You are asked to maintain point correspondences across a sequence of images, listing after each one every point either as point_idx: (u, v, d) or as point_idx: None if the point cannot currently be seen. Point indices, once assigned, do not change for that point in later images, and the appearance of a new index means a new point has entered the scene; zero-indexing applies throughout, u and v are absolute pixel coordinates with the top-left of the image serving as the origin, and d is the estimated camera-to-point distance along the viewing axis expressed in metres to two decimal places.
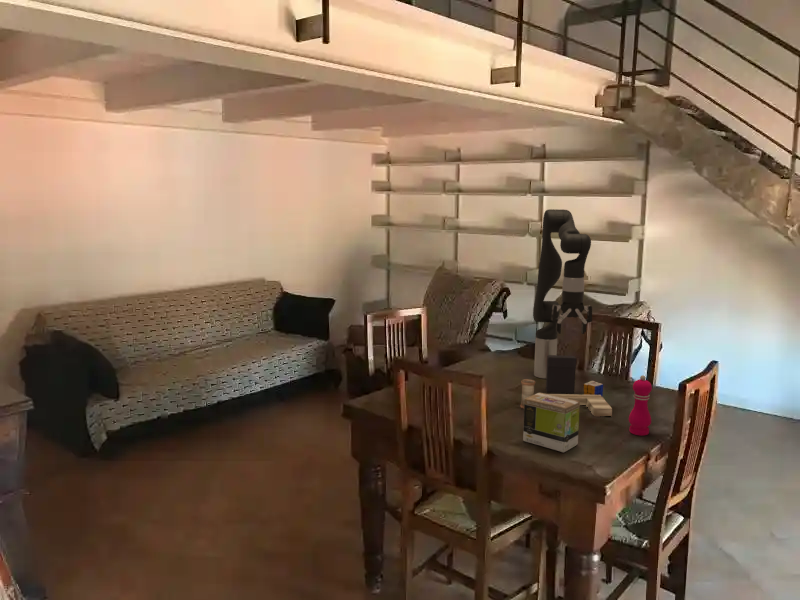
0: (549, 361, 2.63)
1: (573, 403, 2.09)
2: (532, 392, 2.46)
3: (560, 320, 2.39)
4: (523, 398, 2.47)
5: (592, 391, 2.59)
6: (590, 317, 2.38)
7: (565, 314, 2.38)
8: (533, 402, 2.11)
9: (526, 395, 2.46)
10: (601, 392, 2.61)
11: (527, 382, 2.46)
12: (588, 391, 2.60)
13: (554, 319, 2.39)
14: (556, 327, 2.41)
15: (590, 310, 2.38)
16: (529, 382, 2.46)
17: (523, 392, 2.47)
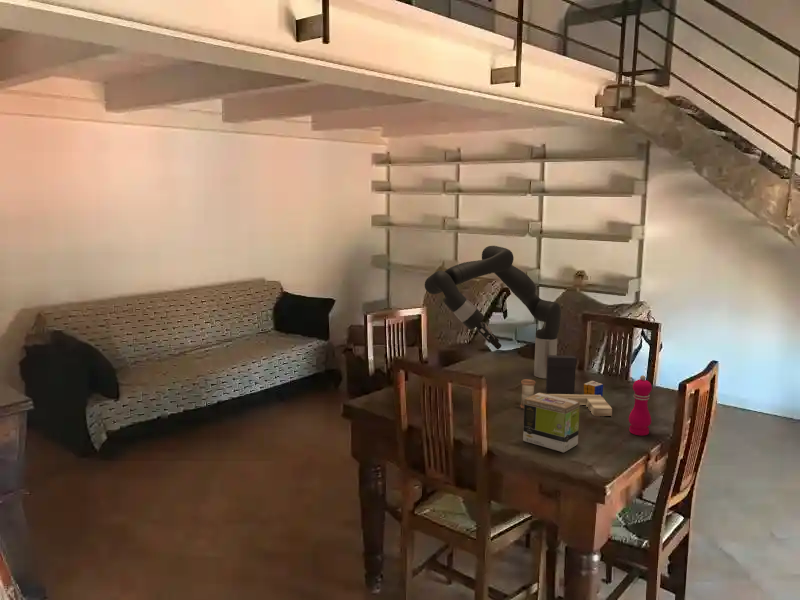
0: (549, 361, 2.63)
1: (573, 403, 2.09)
2: (532, 392, 2.46)
3: None
4: (523, 398, 2.47)
5: (592, 391, 2.59)
6: (486, 339, 2.39)
7: None
8: (533, 402, 2.11)
9: (526, 395, 2.46)
10: (601, 392, 2.61)
11: (527, 382, 2.46)
12: (588, 391, 2.60)
13: None
14: None
15: (481, 334, 2.38)
16: (529, 382, 2.46)
17: (523, 392, 2.47)
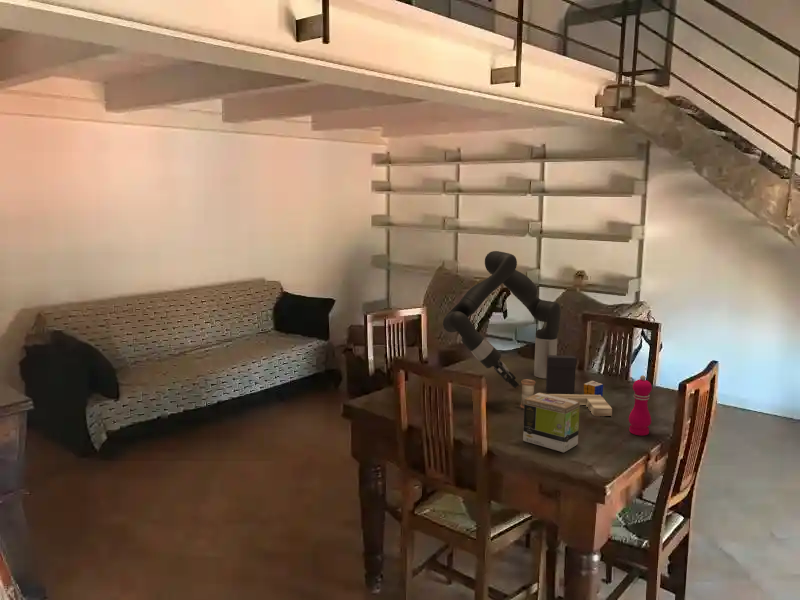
0: (549, 361, 2.63)
1: (573, 403, 2.09)
2: (532, 392, 2.46)
3: None
4: (523, 398, 2.47)
5: (592, 391, 2.59)
6: (503, 378, 2.41)
7: None
8: (533, 402, 2.11)
9: (526, 395, 2.46)
10: (601, 392, 2.61)
11: (527, 382, 2.46)
12: (588, 391, 2.60)
13: None
14: None
15: (498, 373, 2.41)
16: (529, 382, 2.46)
17: (523, 392, 2.47)
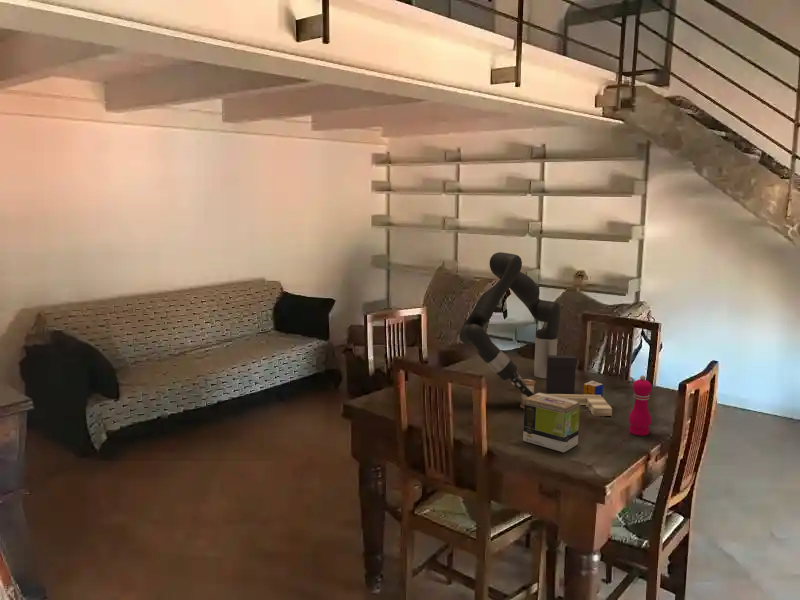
0: (549, 361, 2.63)
1: (573, 403, 2.09)
2: (532, 392, 2.46)
3: None
4: (523, 398, 2.47)
5: (592, 391, 2.59)
6: (521, 391, 2.43)
7: None
8: (533, 402, 2.11)
9: None
10: (601, 392, 2.61)
11: (527, 382, 2.46)
12: (588, 391, 2.60)
13: None
14: None
15: (517, 387, 2.42)
16: (529, 382, 2.46)
17: None
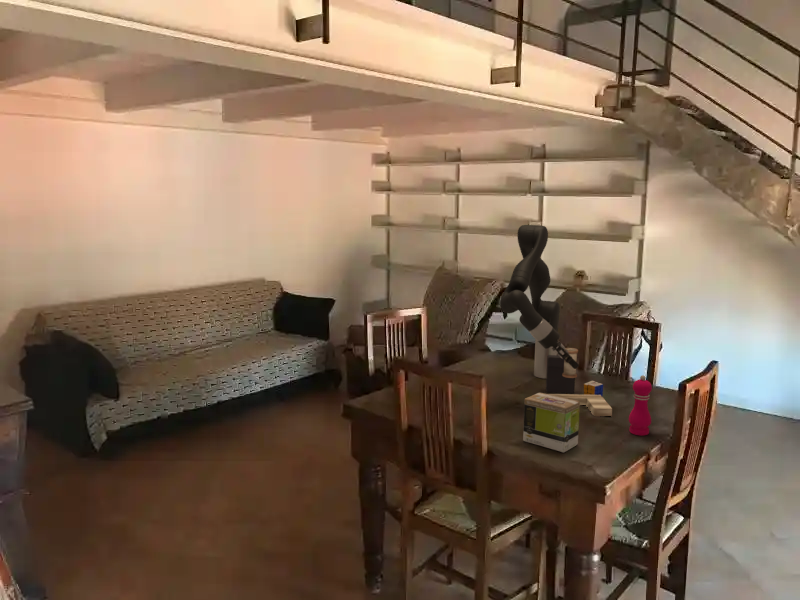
0: (549, 361, 2.63)
1: (573, 403, 2.09)
2: (575, 360, 2.43)
3: None
4: (566, 367, 2.44)
5: (592, 391, 2.59)
6: (564, 359, 2.40)
7: None
8: (533, 402, 2.11)
9: None
10: (601, 392, 2.61)
11: (570, 350, 2.43)
12: (588, 391, 2.60)
13: None
14: None
15: (560, 355, 2.39)
16: (572, 350, 2.43)
17: None
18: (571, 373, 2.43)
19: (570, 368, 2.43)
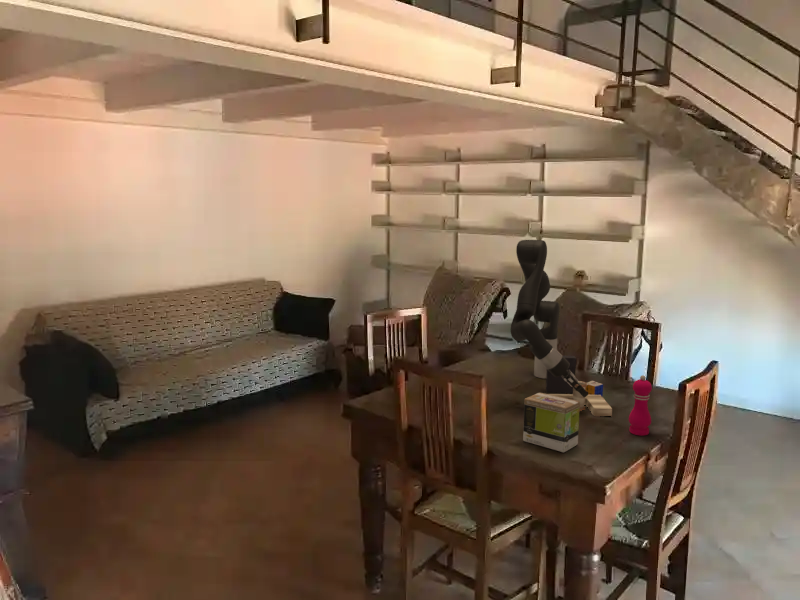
0: None
1: (573, 403, 2.09)
2: None
3: None
4: None
5: (592, 391, 2.59)
6: (573, 387, 2.40)
7: None
8: (533, 402, 2.11)
9: (577, 397, 2.45)
10: (601, 392, 2.61)
11: None
12: (588, 391, 2.60)
13: None
14: None
15: (569, 383, 2.40)
16: (580, 384, 2.44)
17: (574, 394, 2.45)
18: (580, 407, 2.45)
19: None
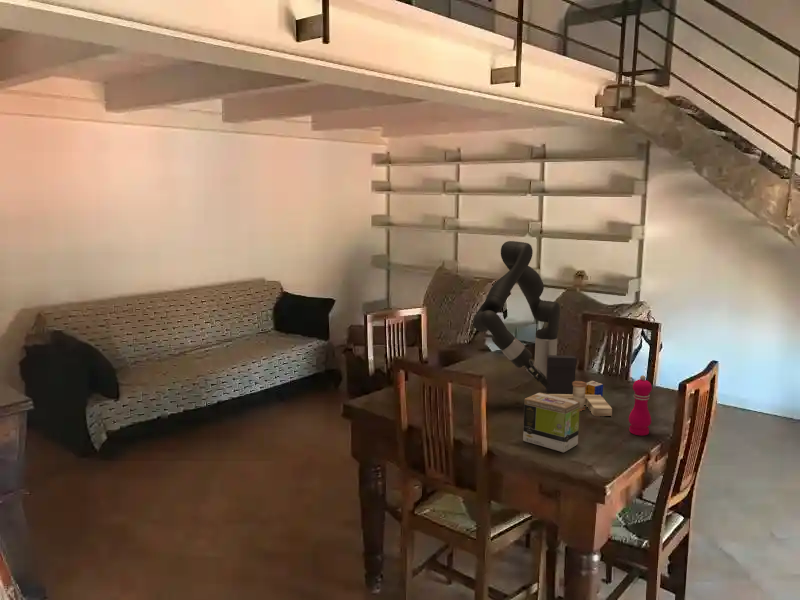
0: (549, 361, 2.63)
1: (573, 403, 2.09)
2: (583, 394, 2.45)
3: None
4: None
5: (592, 391, 2.59)
6: (535, 378, 2.40)
7: None
8: (533, 402, 2.11)
9: (577, 397, 2.45)
10: (601, 392, 2.61)
11: (578, 384, 2.44)
12: (588, 391, 2.60)
13: None
14: None
15: (530, 373, 2.39)
16: (580, 384, 2.44)
17: (574, 394, 2.45)
18: (580, 407, 2.45)
19: None
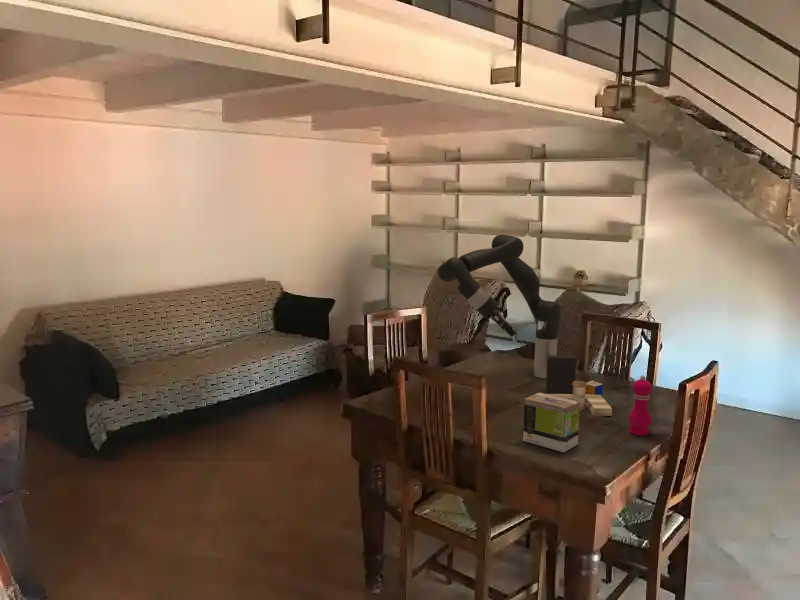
0: (549, 361, 2.63)
1: (573, 403, 2.09)
2: (583, 394, 2.45)
3: None
4: None
5: (592, 391, 2.59)
6: (500, 326, 2.38)
7: None
8: (533, 402, 2.11)
9: (577, 397, 2.45)
10: (601, 392, 2.61)
11: (578, 384, 2.45)
12: (588, 391, 2.60)
13: None
14: None
15: (495, 321, 2.38)
16: (580, 384, 2.44)
17: (574, 394, 2.45)
18: (580, 407, 2.45)
19: None
